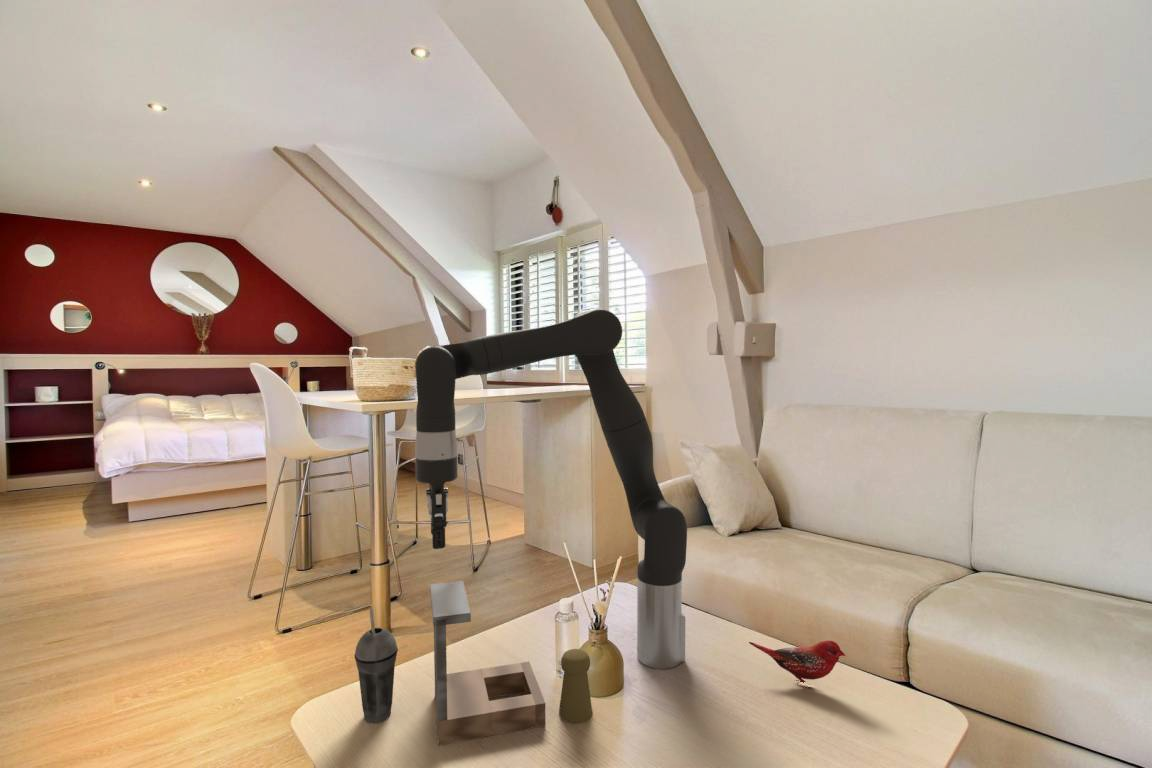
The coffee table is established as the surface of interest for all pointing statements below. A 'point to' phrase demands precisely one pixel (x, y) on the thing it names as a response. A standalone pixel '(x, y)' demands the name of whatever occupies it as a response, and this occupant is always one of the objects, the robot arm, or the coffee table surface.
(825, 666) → the decorative bird figurine
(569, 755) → the coffee table surface
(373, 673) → the beverage cup
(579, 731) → the coffee table surface
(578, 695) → the cork
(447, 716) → the socket stand
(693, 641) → the coffee table surface
